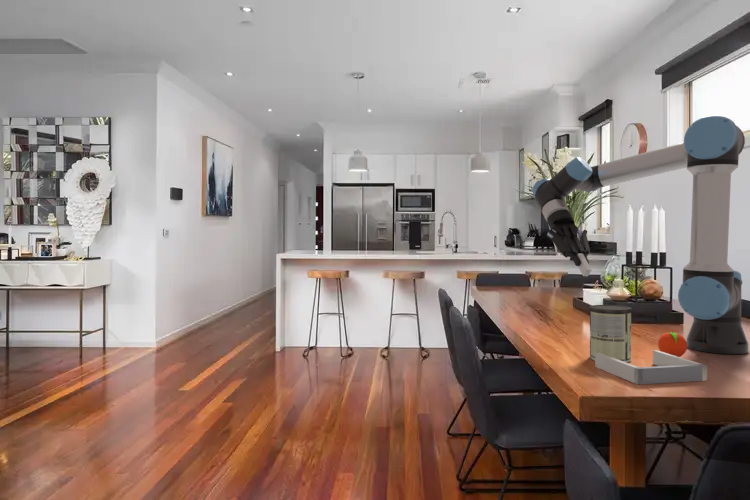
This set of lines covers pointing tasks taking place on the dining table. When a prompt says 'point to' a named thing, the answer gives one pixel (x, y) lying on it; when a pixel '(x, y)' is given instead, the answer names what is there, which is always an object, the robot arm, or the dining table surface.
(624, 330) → the coffee can
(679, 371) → the bay
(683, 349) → the tomato
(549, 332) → the dining table surface
